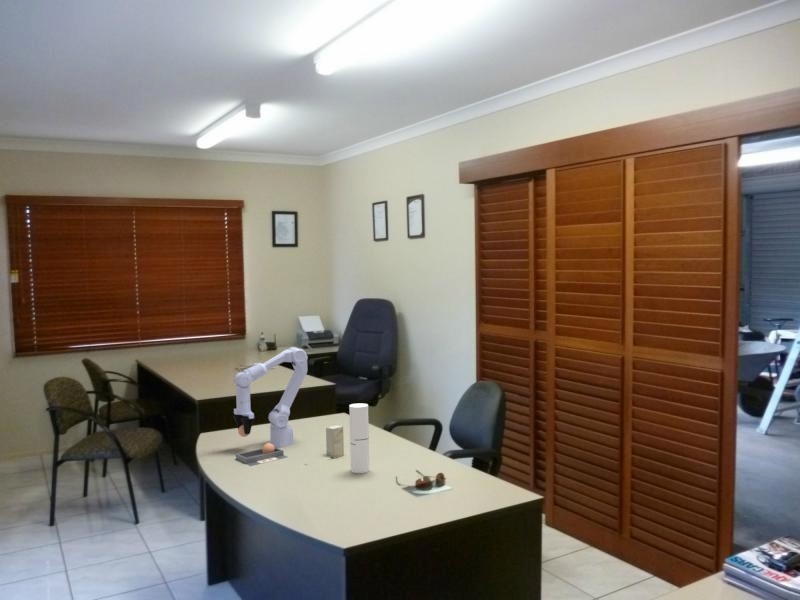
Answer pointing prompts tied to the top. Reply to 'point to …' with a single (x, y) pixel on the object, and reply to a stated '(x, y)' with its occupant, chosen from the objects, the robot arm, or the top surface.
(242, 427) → the terracotta ball
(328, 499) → the top surface
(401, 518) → the top surface
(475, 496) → the top surface
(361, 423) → the cylindrical container
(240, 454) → the grey rimmed tray
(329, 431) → the skincare box
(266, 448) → the resting terracotta ball
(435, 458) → the top surface
